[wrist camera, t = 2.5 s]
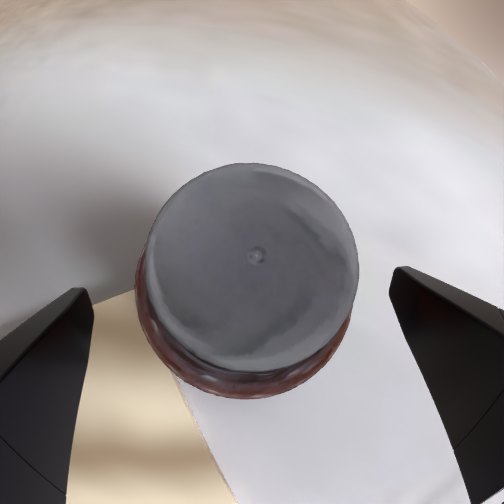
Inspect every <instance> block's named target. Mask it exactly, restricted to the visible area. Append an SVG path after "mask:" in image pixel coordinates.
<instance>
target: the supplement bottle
mask: <svg viewBox="0 0 504 504" xmlns="http://www.w3.org/2000/svg"><path fill="white" fill-rule="evenodd" d="M358 280H359V262H358V253H357V249H356V244H355V240H354V236H353V234H352V231H351V229H350V228H349V224H348V223H347V221H346V219H345V217H344V216H343V214H342V212H341V211H340V209H339V208H338V207H337V205H336V204H335V203H334V201H333V200H332V199H331V198H330V197H329V196H328V195H327V194H326V193H324V192H323V191H322V190H321V189H320V188H319V187H318V186H317V185H315V184H313V183H312V182H310V181H309V180H307V179H306V178H304V177H301V176H300V175H298V174H296V173H293V172H291V171H289V170H286V169H282V168H280V167H277V166H272V165H266V164H259V163H235V164H230V165H225V166H222V167H219V168H216V169H213V170H210V171H207V172H204V173H202V174H201V175H199V176H198V177H196V178H194V179H192V180H190V181H189V182H188V183H186V184H185V185H183V186H182V187H181V188H180V189H179V190H178V191H177V192H175V193H174V194H173V195H172V196H171V197H170V199H169V200H168V201H167V202H166V203H165V205H164V206H163V207H162V209H161V211H160V212H159V214H158V216H157V218H156V220H155V222H154V223H153V226H152V228H151V230H150V232H149V236H148V240H147V242H146V244H145V246H144V248H143V251H142V253H141V256H140V259H139V261H138V267H137V270H136V276H135V285H134V287H135V303H136V307H137V311H138V317H139V321H140V324H141V327H142V330H143V332H144V334H145V336H146V339H147V341H148V342H149V344H150V345H151V347H152V348H153V350H154V352H155V353H156V355H157V356H158V357H159V359H161V360H162V362H163V363H164V364H165V365H166V366H167V367H168V368H169V369H170V370H171V371H172V372H173V373H174V374H176V375H177V376H178V377H179V378H181V379H182V380H183V381H185V382H186V383H188V384H190V385H192V386H194V387H196V388H198V389H200V390H202V391H204V392H207V393H211V394H214V395H216V396H222V397H226V398H234V399H260V398H267V397H270V396H274V395H277V394H281V393H284V392H287V391H289V390H291V389H293V388H296V387H297V386H298V385H300V384H302V383H304V382H305V381H307V380H308V379H310V378H311V377H312V376H313V375H315V374H316V373H317V372H318V371H319V370H320V369H321V368H323V367H324V366H325V365H326V363H327V362H328V361H329V360H330V359H331V357H332V356H333V355H334V353H335V352H336V350H337V348H338V347H339V345H340V343H341V341H342V339H343V337H344V335H345V332H346V330H347V328H348V325H349V322H350V317H351V312H352V307H353V301H354V299H355V295H356V291H357V286H358Z"/></svg>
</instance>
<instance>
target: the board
mask: <svg viewBox="0 0 504 504" xmlns="http://www.w3.org/2000/svg"><path fill="white" fill-rule="evenodd" d="M92 307H93V310H94V325H93V331H92V338H91V346H90V353H89V360H88V366H87V371H86V375H85V380H84V384H83V389H82V394H81V399H80V404H79V409H78V414H77V420H76V425H75V431H74V438H73V444H72V451H71V458H70V466H69V475H68V484H67V494H66V504H239V503H238V501H237V500H236V498H235V496H234V494H233V493H232V491H231V489H230V487H229V485H228V484H227V482H226V480H225V478H224V476H223V474H222V472H221V471H220V469H219V467H218V465H217V463H216V461H215V459H214V457H213V455H212V453H211V451H210V449H209V447H208V445H207V443H206V441H205V439H204V437H203V435H202V433H201V431H200V429H199V427H198V424H197V422H196V420H195V418H194V416H193V414H192V412H191V409H190V407H189V405H188V403H187V400H186V398H185V396H184V394H183V391H182V389H181V387H180V384H179V382H178V380H177V377H176V375H175V374H174V373H173V372H172V371H171V370H170V369H169V368H168V367H167V366H166V365H165V364H164V363H163V362H162V360H161V359H159V357H158V356H157V355H156V353H155V352H154V350H153V348H152V347H151V345H150V344H149V342H148V341H147V339H146V336H145V334H144V332H143V330H142V327H141V324H140V321H139V317H138V311H137V307H136V303H135V289H133V290H131V291H128V292H125V293H123V294H120V295H118V296H115V297H112V298H110V299H107V300H105V301H102V302H99V303H97V304H94V305H92Z"/></svg>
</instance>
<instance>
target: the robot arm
mask: <svg viewBox="0 0 504 504" xmlns="http://www.w3.org/2000/svg"><path fill="white" fill-rule="evenodd" d="M389 297H390V300H391V302H392V305H393V308H394V310H395V313H396V315H397V318H398V321H399V323H400V326H401V329H402V332H403V334H404V337H405V339H406V341H407V343H408V345H409V347H410V349H411V352H412V354H413V356H414V358H415V360H416V362H417V364H418V367H419V369H420V371H421V373H422V375H423V378H424V380H425V382H426V384H427V387H428V389H429V391H430V393H431V396H432V398H433V400H434V403H435V405H436V408H437V410H438V412H439V415H440V417H441V420H442V422H443V425H444V427H445V430H446V432H447V435H448V438H449V440H450V443H451V445H452V448H453V450H454V454H455V457H456V460H457V462H458V465H459V468H460V471H461V474H462V477H463V480H464V483H465V486H466V489H467V492H468V495H469V499H470V502H471V504H482V503H483V502H485V501H486V500H488V499H490V498H491V497H493V496H494V495H496V494H497V493H499V492H500V491H502V490H503V489H504V310H502V309H500V308H499V309H498V308H497V307H496V306H494V305H492V304H490V303H488V302H485V301H483V300H481V299H479V298H477V297H475V296H473V295H471V294H469V293H466V292H464V291H462V290H460V289H458V288H456V287H453V286H451V285H449V284H447V283H445V282H443V281H440V280H438V279H436V278H434V277H431V276H429V275H427V274H425V273H422V272H420V271H418V270H416V269H413V268H411V267H409V266H402V267H397V268H395V270H394V272H393V276H392V280H391V284H390V288H389ZM93 325H94V310H93V307H92V304H91V301H90V298H89V295H88V292H87V290H86V289H85V288H72V289H70V290H69V291H67V292H66V293H64V294H63V295H61V296H60V297H59V298H57V299H56V300H54V301H53V302H51V303H50V304H49V305H47V306H46V307H44V308H43V309H42V310H40V311H39V312H38V313H36V314H35V315H33V316H32V317H31V318H29V319H28V320H27V321H25V322H24V323H23V324H21V325H20V326H19V327H17V328H16V329H15V330H13V331H12V332H11V333H9V334H8V335H7V336H5V337H4V338H3V339H1V340H0V504H66V494H67V484H68V475H69V466H70V458H71V451H72V444H73V438H74V431H75V425H76V420H77V414H78V409H79V404H80V399H81V394H82V389H83V384H84V380H85V375H86V371H87V366H88V360H89V353H90V346H91V338H92V331H93ZM502 504H504V502H503V503H502Z"/></svg>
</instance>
